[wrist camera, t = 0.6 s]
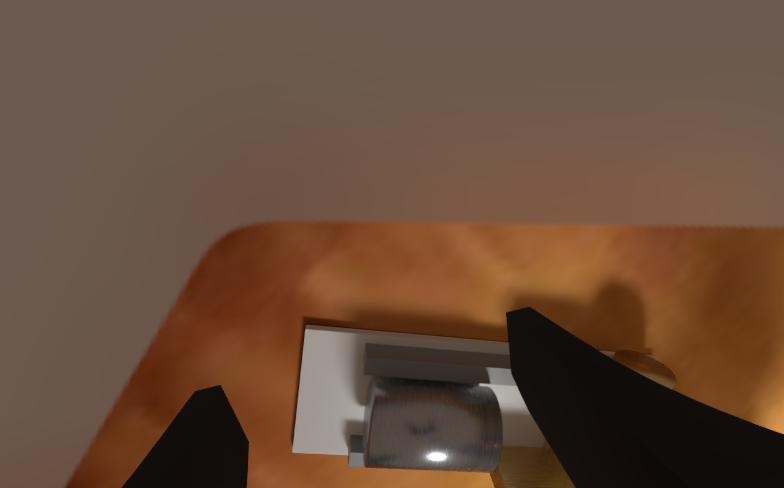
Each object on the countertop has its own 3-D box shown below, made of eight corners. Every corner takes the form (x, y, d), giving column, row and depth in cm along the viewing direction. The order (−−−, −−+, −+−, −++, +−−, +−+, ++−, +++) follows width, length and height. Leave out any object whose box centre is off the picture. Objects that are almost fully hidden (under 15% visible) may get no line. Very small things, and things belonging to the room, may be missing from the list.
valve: (602, 476, 27) (657, 567, 22) (481, 471, 26) (512, 565, 21) (661, 347, 24) (742, 420, 19) (525, 334, 23) (574, 409, 18)
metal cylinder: (468, 439, 24) (493, 492, 20) (360, 433, 24) (365, 487, 20) (480, 372, 24) (509, 413, 20) (370, 364, 23) (377, 405, 19)
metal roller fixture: (604, 461, 27) (618, 484, 26) (293, 446, 25) (289, 471, 23) (652, 354, 24) (672, 373, 23) (306, 324, 22) (303, 343, 20)
